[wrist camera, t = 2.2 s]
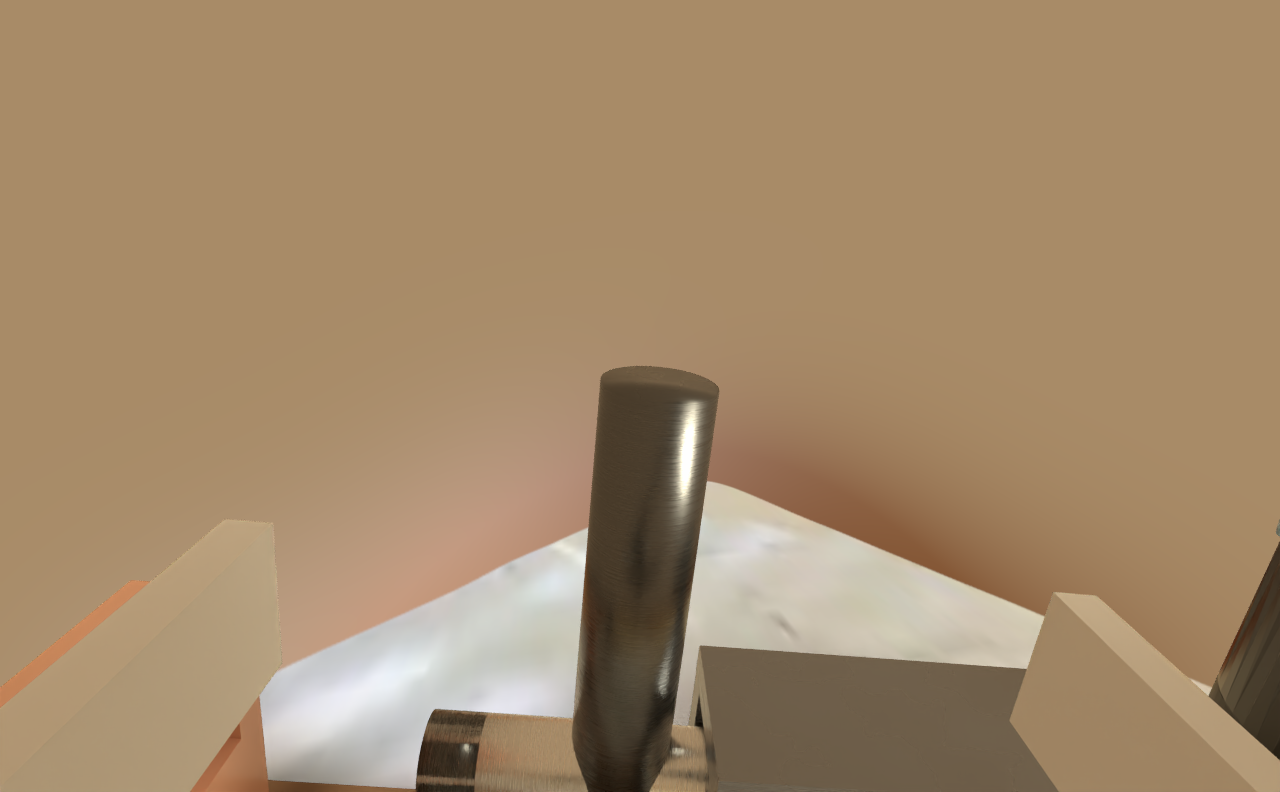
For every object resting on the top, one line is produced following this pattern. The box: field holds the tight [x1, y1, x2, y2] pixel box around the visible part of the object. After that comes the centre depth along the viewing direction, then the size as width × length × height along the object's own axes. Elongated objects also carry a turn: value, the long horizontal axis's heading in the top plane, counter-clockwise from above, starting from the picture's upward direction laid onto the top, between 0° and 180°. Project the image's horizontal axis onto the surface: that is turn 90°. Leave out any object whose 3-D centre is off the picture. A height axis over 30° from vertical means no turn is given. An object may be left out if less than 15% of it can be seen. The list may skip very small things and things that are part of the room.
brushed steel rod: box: [416, 366, 719, 792], centre depth 24 cm, size 24×4×20 cm, turn 91°
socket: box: [0, 580, 269, 792], centre depth 25 cm, size 4×7×11 cm, turn 1°
